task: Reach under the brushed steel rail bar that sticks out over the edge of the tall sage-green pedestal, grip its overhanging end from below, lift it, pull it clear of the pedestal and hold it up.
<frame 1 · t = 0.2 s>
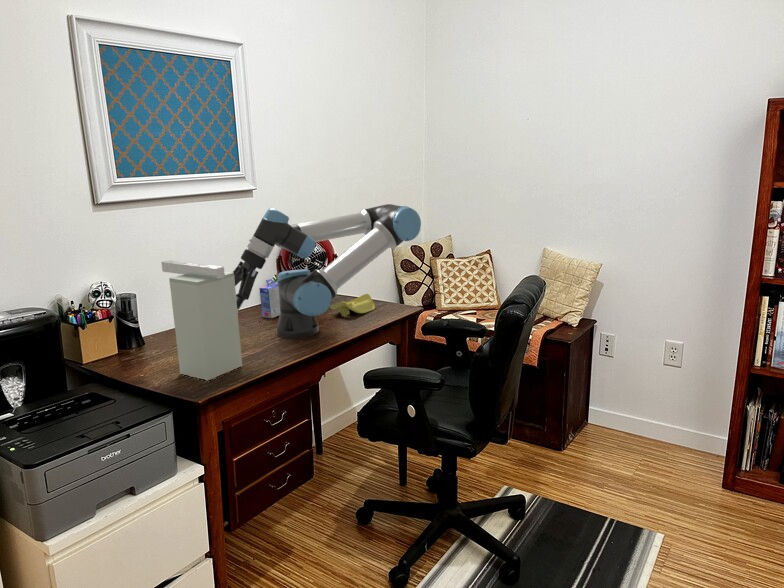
hand: (224, 311, 200), 15 cm above the table, tool tilted 35°, fingers open, 13 cm apart
ink cartridge box: (274, 315, 252), on the table
pedestal: (211, 370, 192), on the table
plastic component: (351, 313, 253), on the table
rail bar: (192, 274, 187), point 30 cm above the table, touching pedestal
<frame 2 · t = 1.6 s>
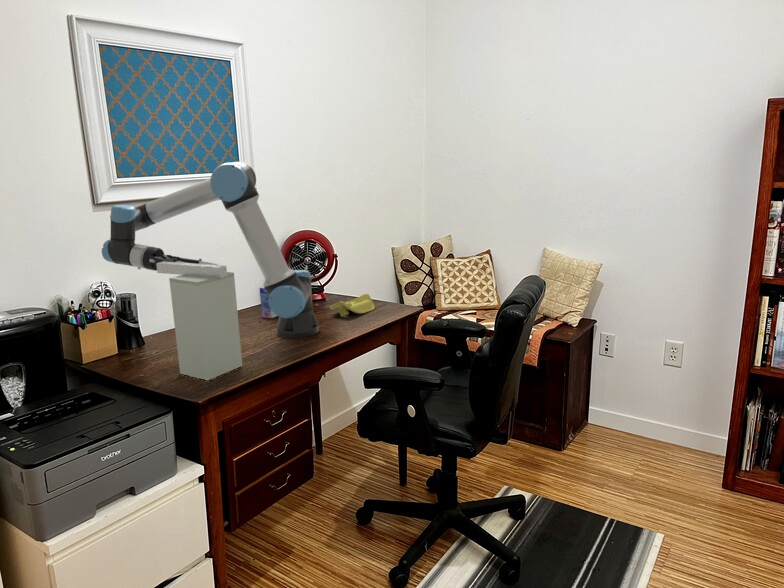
hand: (206, 268, 201), 29 cm above the table, tool horizontal, fingers open, 13 cm apart
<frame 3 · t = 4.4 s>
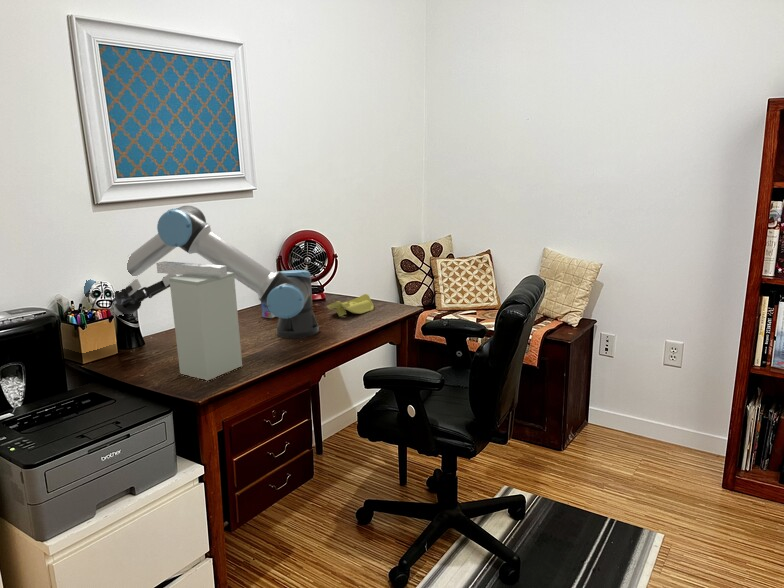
hand: (157, 278, 196), 27 cm above the table, tool pointing upward, fingers open, 13 cm apart
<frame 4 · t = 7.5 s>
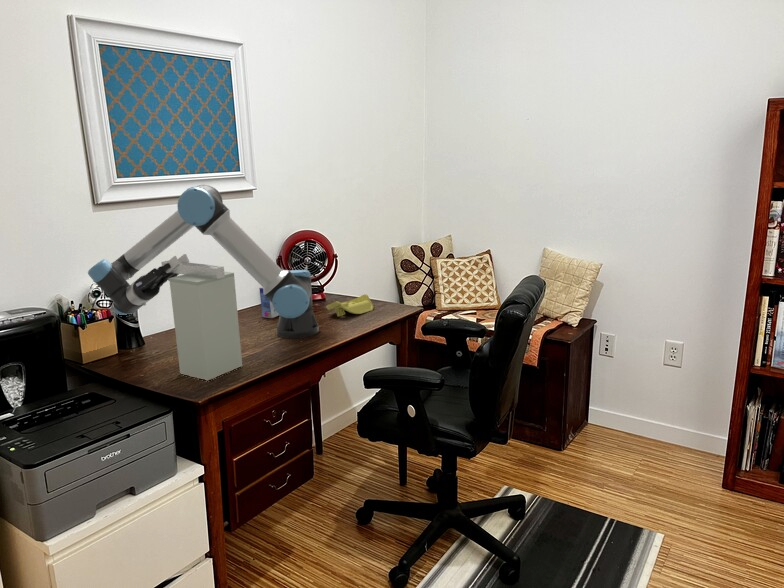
hand: (181, 259, 188), 34 cm above the table, tool pointing upward, fingers closed on rail bar, 3 cm apart
rail bar: (192, 274, 187), point 30 cm above the table, touching gripper
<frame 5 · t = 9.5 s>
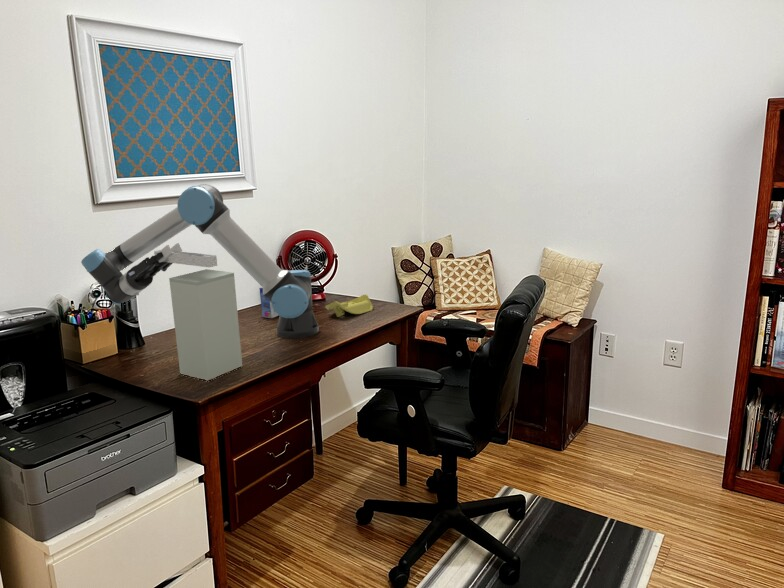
hand: (174, 248, 188), 37 cm above the table, tool pointing upward, fingers closed on rail bar, 3 cm apart
rail bar: (185, 263, 187), point 33 cm above the table, touching gripper
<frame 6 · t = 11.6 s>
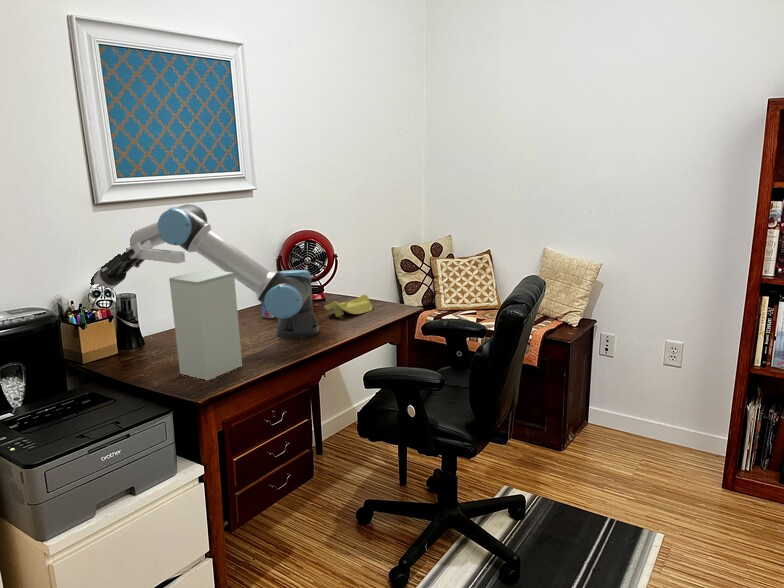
hand: (145, 245, 195), 37 cm above the table, tool pointing upward, fingers closed on rail bar, 3 cm apart
rail bar: (155, 259, 194), point 33 cm above the table, touching gripper
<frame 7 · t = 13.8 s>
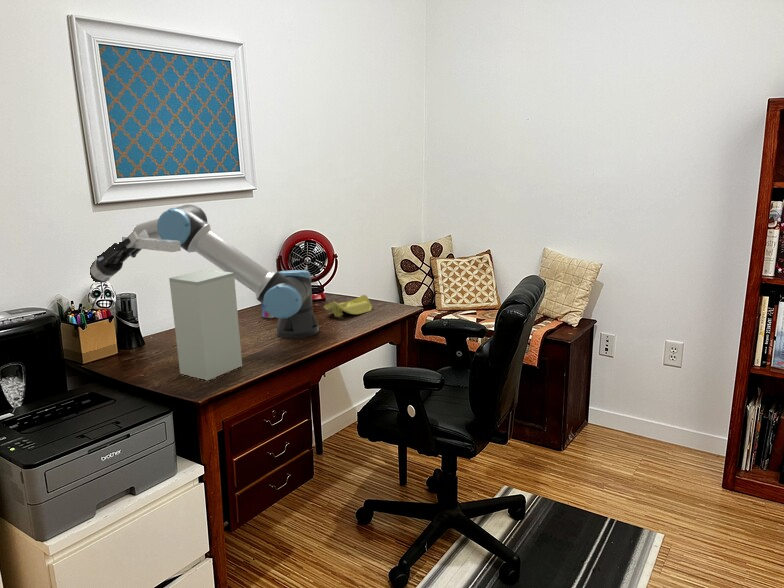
hand: (141, 234, 196), 41 cm above the table, tool pointing upward, fingers closed on rail bar, 3 cm apart
rail bar: (151, 248, 195), point 36 cm above the table, touching gripper
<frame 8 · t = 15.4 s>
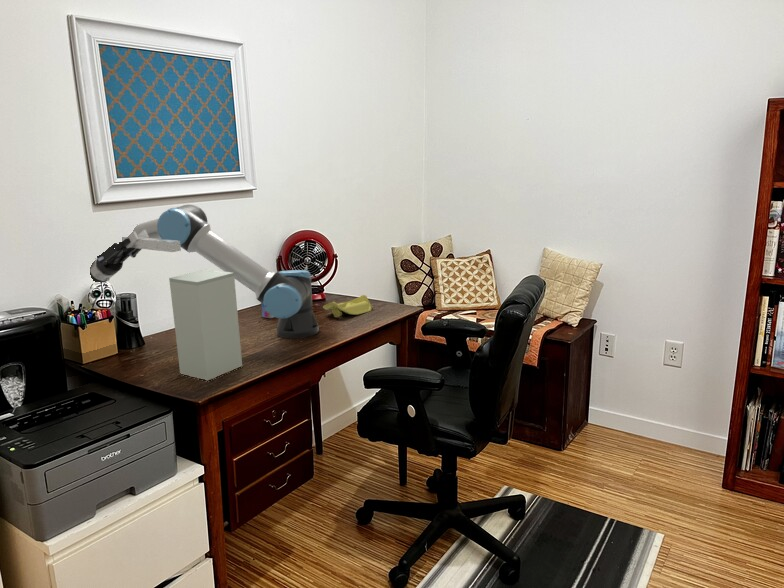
hand: (141, 234, 196), 41 cm above the table, tool pointing upward, fingers closed on rail bar, 3 cm apart
rail bar: (151, 248, 195), point 36 cm above the table, touching gripper
at the end: the gripper is holding rail bar; rail bar touching gripper; rail bar point 36.5 cm above the table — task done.
